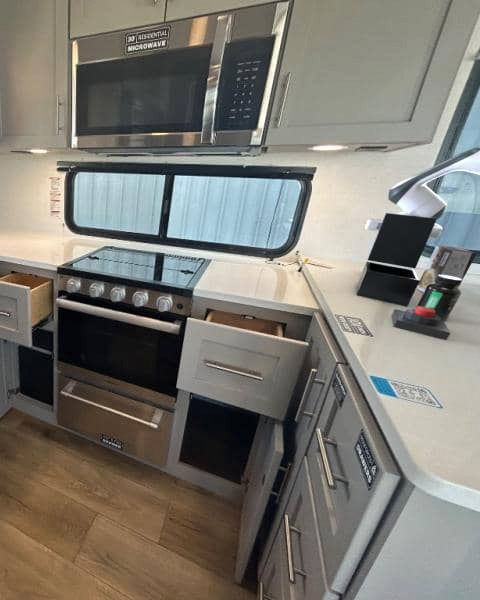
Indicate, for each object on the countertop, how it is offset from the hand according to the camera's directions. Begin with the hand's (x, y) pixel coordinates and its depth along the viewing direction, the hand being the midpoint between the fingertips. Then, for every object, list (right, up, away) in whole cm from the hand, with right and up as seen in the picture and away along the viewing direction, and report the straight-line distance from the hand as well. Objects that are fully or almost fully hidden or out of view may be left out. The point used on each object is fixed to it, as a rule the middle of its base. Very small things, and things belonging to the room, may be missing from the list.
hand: (402, 230), depth 114 cm
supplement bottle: (-10, -29, -18) cm, 35 cm away
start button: (-21, -28, -27) cm, 44 cm away
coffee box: (+12, -22, +2) cm, 25 cm away
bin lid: (-4, -4, -3) cm, 6 cm away
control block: (-22, -31, -26) cm, 46 cm away
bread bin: (-11, -22, -3) cm, 25 cm away
